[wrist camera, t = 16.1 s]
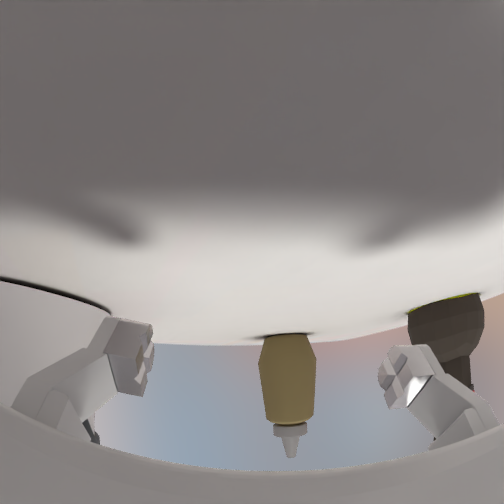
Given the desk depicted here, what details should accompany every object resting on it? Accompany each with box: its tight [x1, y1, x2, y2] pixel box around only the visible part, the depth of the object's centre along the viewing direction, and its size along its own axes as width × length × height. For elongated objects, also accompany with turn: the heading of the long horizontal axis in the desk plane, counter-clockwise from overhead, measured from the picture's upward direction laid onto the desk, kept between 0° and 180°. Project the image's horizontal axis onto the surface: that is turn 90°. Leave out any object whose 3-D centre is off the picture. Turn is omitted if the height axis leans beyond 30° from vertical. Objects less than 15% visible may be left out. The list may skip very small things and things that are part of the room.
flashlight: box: [408, 294, 484, 441], centre depth 24 cm, size 10×25×10 cm
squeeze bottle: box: [258, 334, 316, 458], centre depth 37 cm, size 8×8×18 cm
